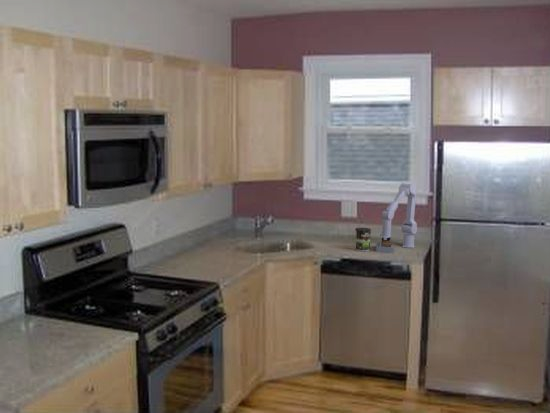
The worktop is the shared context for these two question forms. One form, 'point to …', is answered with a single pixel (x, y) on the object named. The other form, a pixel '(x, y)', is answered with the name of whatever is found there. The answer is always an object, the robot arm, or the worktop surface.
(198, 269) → the worktop surface
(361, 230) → the coffee can
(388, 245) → the cabinet block
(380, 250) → the cleat wall
